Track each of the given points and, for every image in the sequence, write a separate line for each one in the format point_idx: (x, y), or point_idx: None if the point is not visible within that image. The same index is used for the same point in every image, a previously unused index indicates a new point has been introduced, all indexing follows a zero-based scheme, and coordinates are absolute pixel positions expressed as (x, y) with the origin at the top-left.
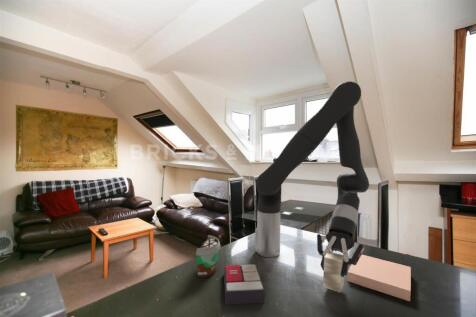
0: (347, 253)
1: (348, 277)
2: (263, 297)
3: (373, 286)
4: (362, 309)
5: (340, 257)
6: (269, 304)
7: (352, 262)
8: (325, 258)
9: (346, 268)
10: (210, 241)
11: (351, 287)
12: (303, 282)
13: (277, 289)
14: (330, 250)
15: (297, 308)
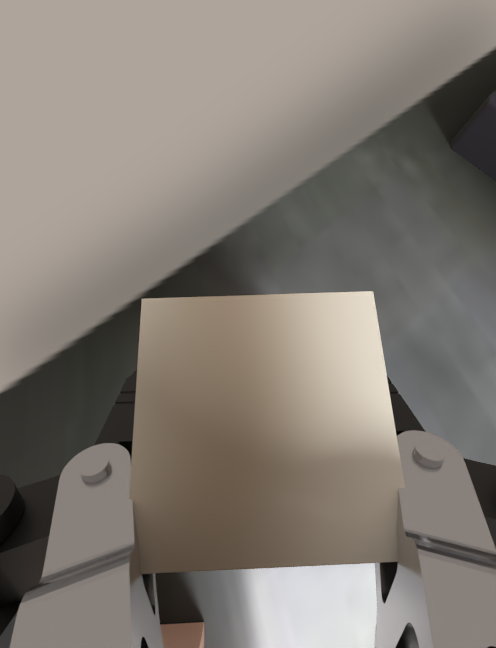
0: (35, 596)
1: (193, 641)
2: (466, 123)
3: None
4: (89, 353)
5: (173, 437)
6: (426, 146)
7: (19, 490)
8: (347, 295)
9: (121, 408)
10: None
11: None
12: (419, 385)
13: (473, 242)
14: (398, 589)
15: (331, 187)
